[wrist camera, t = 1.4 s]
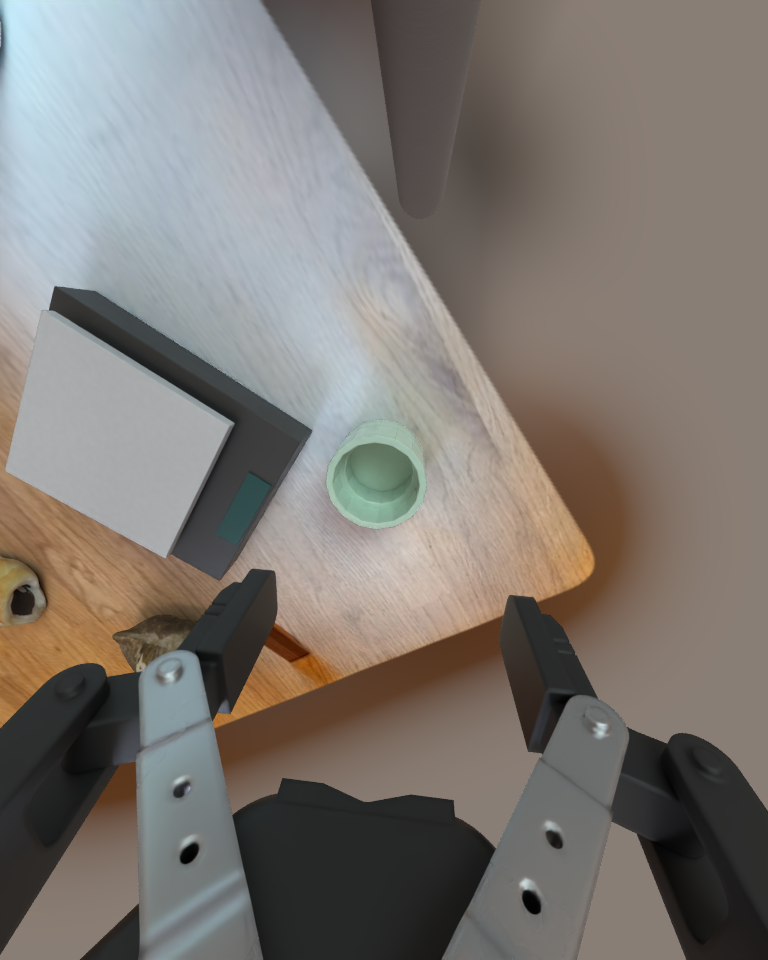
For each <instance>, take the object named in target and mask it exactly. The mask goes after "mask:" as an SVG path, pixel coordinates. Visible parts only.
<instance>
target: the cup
mask: <svg viewBox="0 0 768 960" xmlns="http://www.w3.org/2000/svg"><path fill="white" fill-rule="evenodd" d="M326 487H327V490H328V494H329V497H330V500H331V502H332V503H333V505H334V506H335V507H336V509H337V510H338V511H339V512H340V514H341V515H342V516H343V517H345V518H347V519H348V520H350V521H352V522H353V523H355V524H356V525H359V526H363V527H368V528H372V529H383V528H390V527H395V526H397V525H399V524H401V523H403V522H404V521H406V520H408V519H410V518H411V517H412V516H413V515H414V514H415V512H416V511H417V510H418V509H419V507H420V506H421V505H422V503H423V500H424V496H425V492H426V488H427V478H426V462H425V456H424V451H423V448H422V445H421V444H420V442H419V441H418V439H417V438H416V436H415V435H414V434H413V432H412V431H410V430H409V429H407V428H406V427H404V426H403V425H401V424H400V423H397V422H392V421H387V420H381V419H380V420H375V421H369V422H364V423H363V424H361V425H360V426H358V427H357V428H355V429H354V430H352V431H351V432H350V433H349V434H348V435H347V437H346V438H345V440H344V441H343V443H342V444H341V446H340V447H339V449H338V450H337V452H336V454H335V455H334V457H333V458H332V460H331V461H330V463H329V465H328V469H327V477H326Z"/></svg>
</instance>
